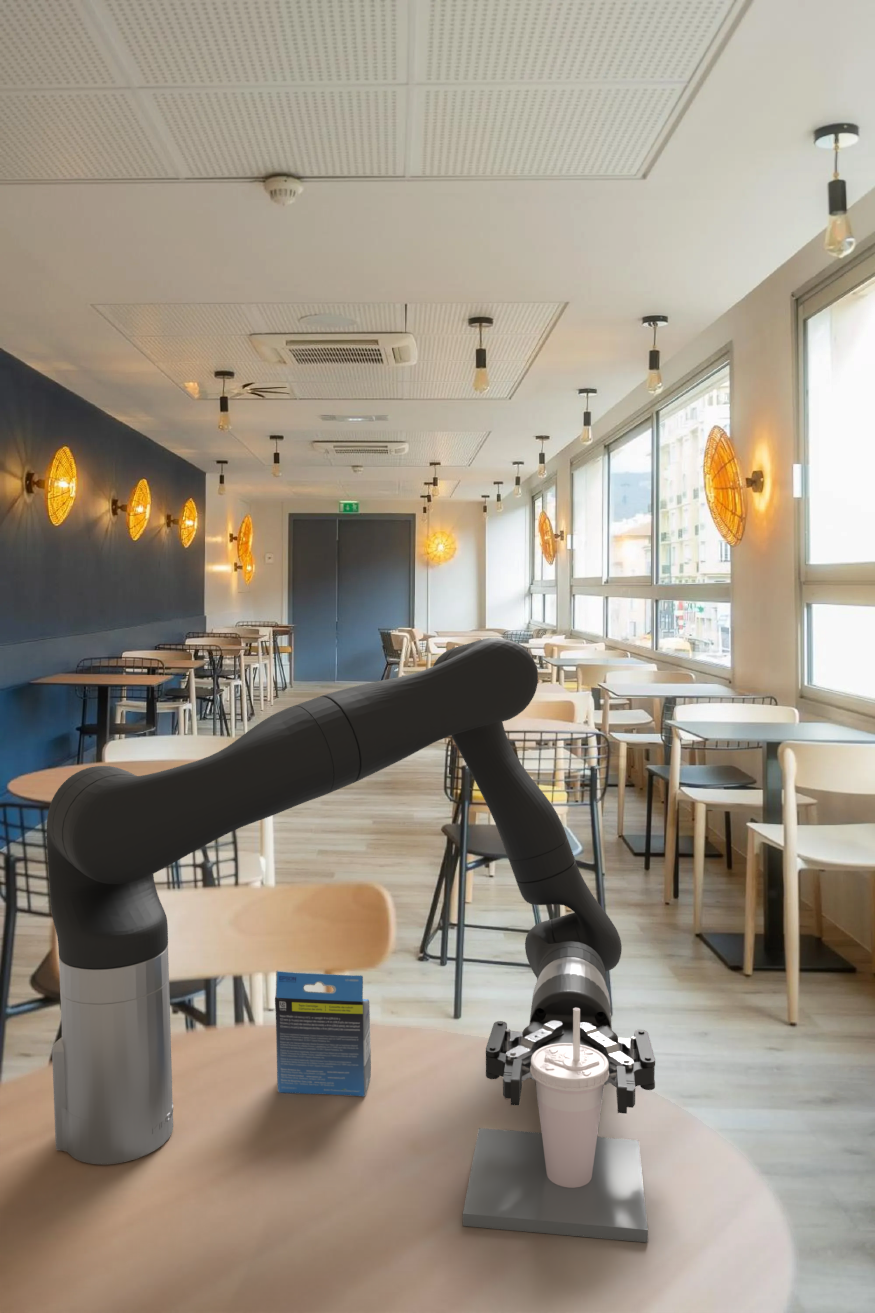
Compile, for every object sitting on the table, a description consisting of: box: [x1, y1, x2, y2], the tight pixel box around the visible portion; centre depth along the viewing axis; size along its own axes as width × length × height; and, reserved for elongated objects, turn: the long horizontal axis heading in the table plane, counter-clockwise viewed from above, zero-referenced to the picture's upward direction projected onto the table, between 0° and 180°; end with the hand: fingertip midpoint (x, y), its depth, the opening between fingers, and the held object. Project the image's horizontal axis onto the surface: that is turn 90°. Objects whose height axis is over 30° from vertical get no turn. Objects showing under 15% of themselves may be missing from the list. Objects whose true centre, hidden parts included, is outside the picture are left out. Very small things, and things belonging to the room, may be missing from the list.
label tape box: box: [274, 970, 372, 1097], centre depth 97 cm, size 9×4×12 cm, turn 84°
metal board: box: [462, 1127, 649, 1243], centre depth 81 cm, size 14×12×1 cm
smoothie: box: [530, 1008, 609, 1188], centre depth 80 cm, size 6×6×14 cm
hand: (568, 1098), depth 78 cm, fingers open, 8 cm apart
